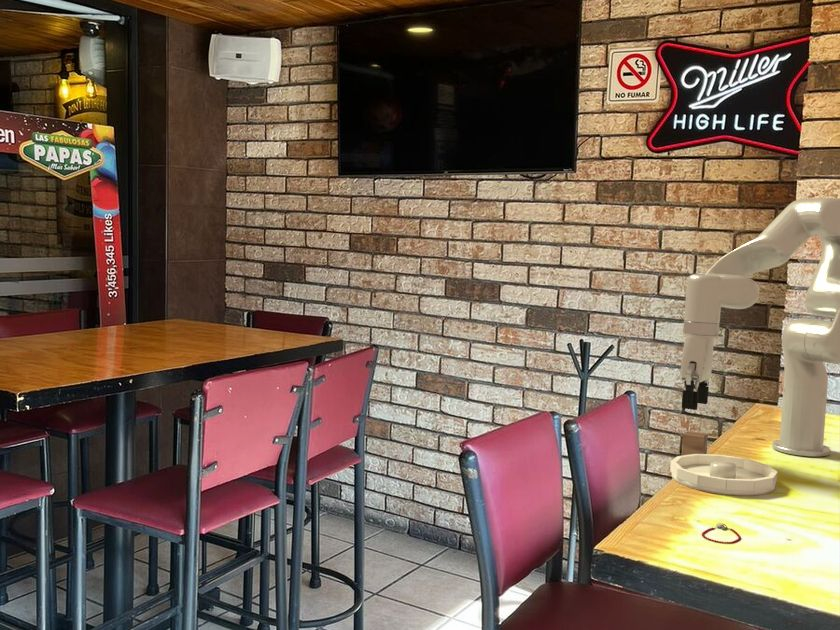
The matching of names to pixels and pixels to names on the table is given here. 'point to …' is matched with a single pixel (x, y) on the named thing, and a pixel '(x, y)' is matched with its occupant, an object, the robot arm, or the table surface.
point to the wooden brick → (694, 443)
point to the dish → (738, 486)
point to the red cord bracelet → (722, 529)
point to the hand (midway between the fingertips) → (694, 406)
